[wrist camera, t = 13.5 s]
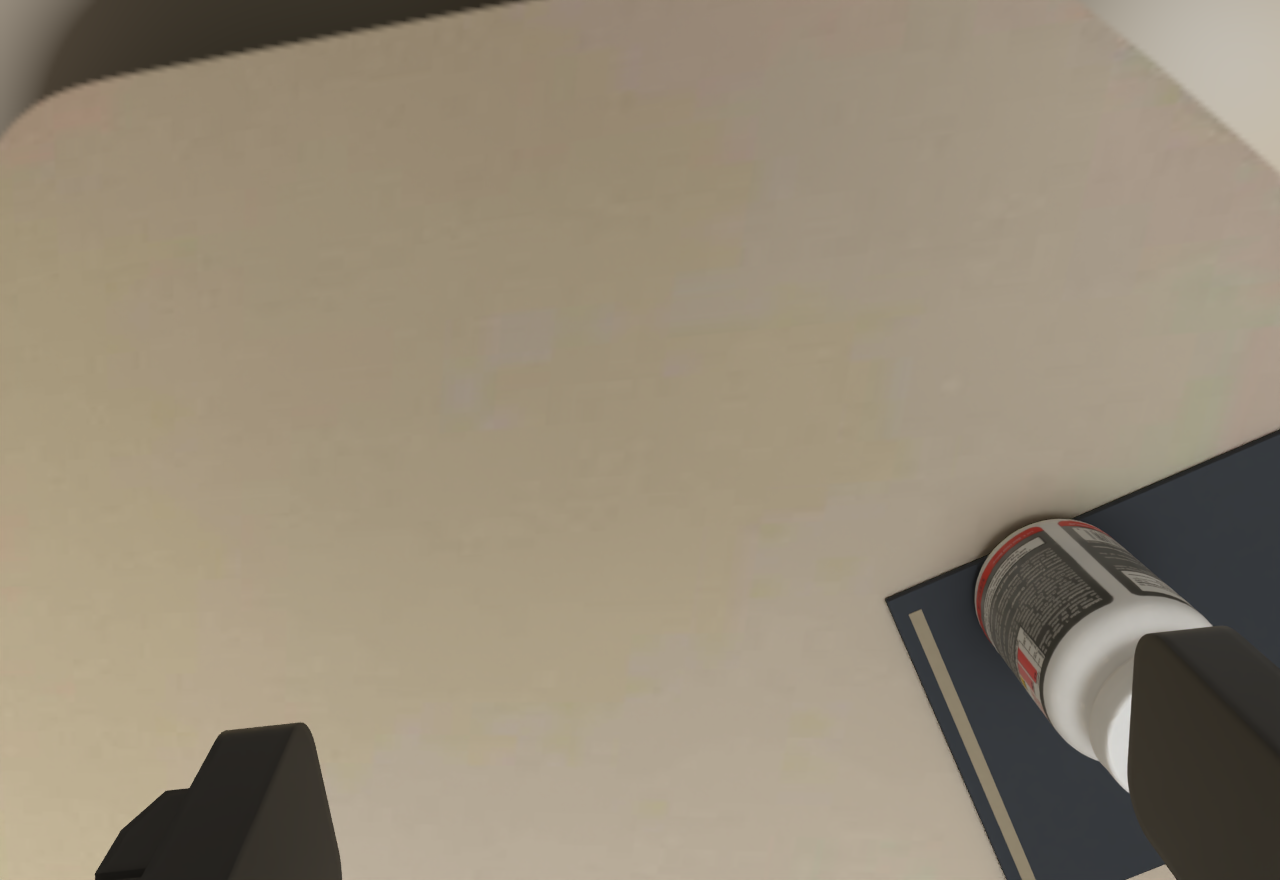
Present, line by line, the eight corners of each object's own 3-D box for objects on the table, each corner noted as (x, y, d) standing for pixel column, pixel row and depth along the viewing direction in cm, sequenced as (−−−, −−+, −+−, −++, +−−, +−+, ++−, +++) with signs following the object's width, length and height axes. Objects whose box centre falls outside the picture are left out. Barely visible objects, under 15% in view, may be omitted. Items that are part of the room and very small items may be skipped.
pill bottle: (985, 672, 41) (1102, 845, 32) (955, 539, 40) (1069, 681, 30) (1135, 629, 41) (1296, 792, 32) (1111, 494, 39) (1275, 623, 30)
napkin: (884, 598, 41) (887, 602, 40) (1301, 420, 39) (1307, 423, 39) (1021, 914, 45) (1024, 920, 45) (1398, 766, 44) (1404, 771, 44)
